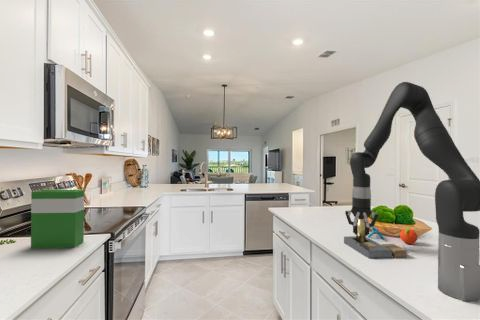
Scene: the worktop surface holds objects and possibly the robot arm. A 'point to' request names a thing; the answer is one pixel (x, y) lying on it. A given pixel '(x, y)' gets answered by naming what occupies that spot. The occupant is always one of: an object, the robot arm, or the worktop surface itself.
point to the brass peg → (361, 230)
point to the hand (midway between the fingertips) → (360, 234)
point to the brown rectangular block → (396, 250)
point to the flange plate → (368, 248)
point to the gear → (375, 233)
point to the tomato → (408, 236)
